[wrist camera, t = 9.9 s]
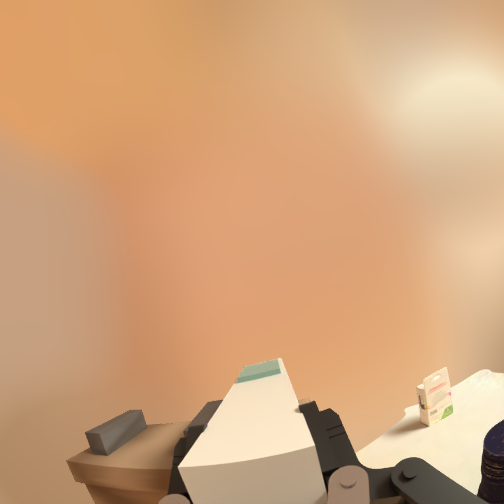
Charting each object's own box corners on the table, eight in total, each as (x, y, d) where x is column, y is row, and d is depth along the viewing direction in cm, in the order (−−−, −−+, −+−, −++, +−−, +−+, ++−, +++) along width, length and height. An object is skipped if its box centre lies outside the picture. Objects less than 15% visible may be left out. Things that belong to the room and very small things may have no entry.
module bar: (290, 391, 27) (280, 354, 28) (335, 530, 5) (311, 433, 6) (253, 400, 27) (243, 363, 28) (216, 548, 5) (173, 456, 6)
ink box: (444, 409, 55) (438, 363, 59) (453, 412, 51) (448, 365, 54) (420, 422, 55) (413, 376, 59) (428, 427, 51) (422, 379, 54)
